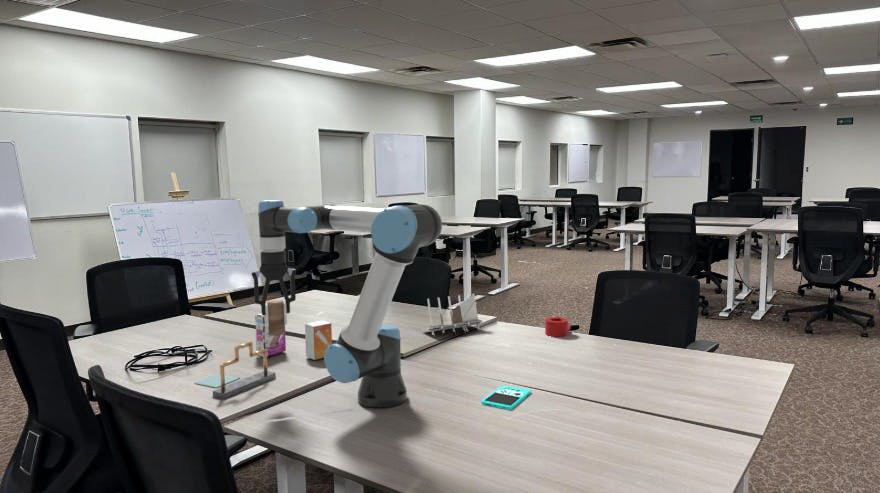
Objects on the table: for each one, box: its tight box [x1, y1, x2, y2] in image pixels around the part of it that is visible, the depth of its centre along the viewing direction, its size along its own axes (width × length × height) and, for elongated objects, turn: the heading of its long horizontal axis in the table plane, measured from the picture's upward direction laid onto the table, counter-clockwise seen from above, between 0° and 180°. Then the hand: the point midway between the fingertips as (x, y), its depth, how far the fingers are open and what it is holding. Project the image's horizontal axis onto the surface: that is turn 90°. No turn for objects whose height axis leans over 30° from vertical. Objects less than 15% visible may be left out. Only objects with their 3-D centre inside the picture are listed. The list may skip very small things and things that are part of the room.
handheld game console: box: [480, 385, 532, 411], centre depth 181 cm, size 10×16×1 cm, turn 149°
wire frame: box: [212, 341, 277, 400], centre depth 192 cm, size 5×22×15 cm, turn 151°
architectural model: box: [421, 293, 484, 336], centre depth 258 cm, size 17×25×18 cm
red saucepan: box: [544, 316, 572, 338], centre depth 256 cm, size 18×9×7 cm, turn 146°
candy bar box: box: [254, 312, 287, 359], centre depth 228 cm, size 11×5×16 cm, turn 149°
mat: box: [194, 373, 240, 389], centre depth 198 cm, size 10×10×1 cm
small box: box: [304, 319, 333, 361], centre depth 224 cm, size 8×6×13 cm
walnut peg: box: [266, 299, 286, 336], centre depth 184 cm, size 5×5×10 cm
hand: (276, 324), depth 184 cm, fingers closed on walnut peg, 5 cm apart
